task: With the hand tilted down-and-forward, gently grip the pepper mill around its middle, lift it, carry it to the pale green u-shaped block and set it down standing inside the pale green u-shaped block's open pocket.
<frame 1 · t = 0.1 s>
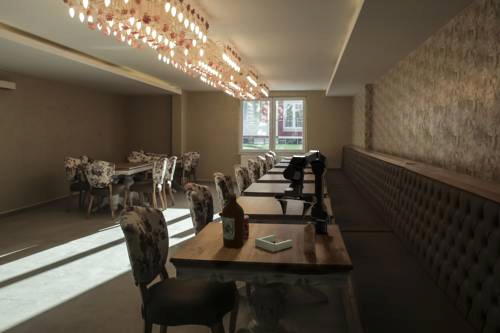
hand: (293, 217, 175), 15 cm above the table, tool pointing down, fingers open, 9 cm apart
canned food: (241, 237, 198), on the table
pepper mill: (308, 251, 175), on the table
olive oil: (233, 246, 184), on the table
pale green u-shaped block: (274, 245, 184), on the table
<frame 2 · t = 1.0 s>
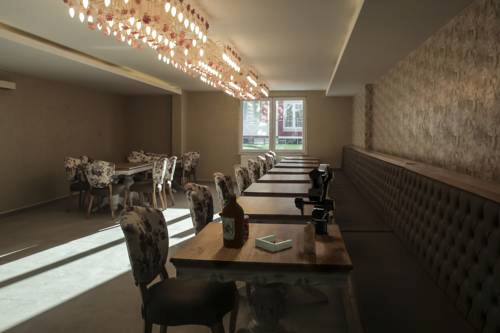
hand: (312, 218, 181), 13 cm above the table, tool tilted 45°, fingers open, 9 cm apart
nothing on the table moved.
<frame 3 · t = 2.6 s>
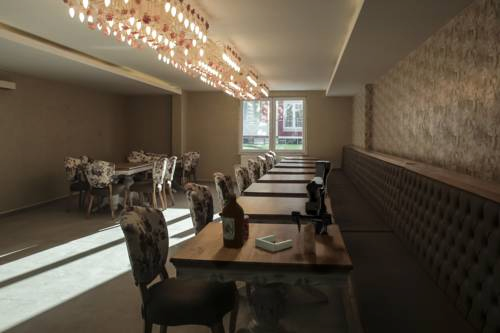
hand: (309, 233, 174), 8 cm above the table, tool tilted 45°, fingers open, 9 cm apart
nothing on the table moved.
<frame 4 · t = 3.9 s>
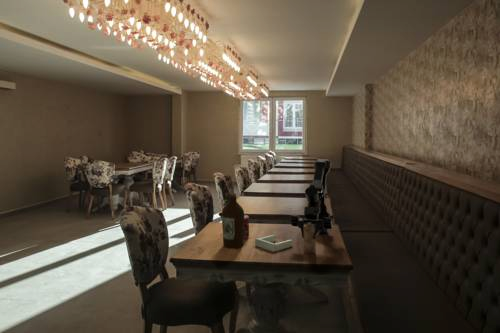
hand: (308, 238, 173), 7 cm above the table, tool tilted 45°, fingers closed on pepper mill, 5 cm apart
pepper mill: (308, 251, 175), on the table, touching gripper
everything else where it was.
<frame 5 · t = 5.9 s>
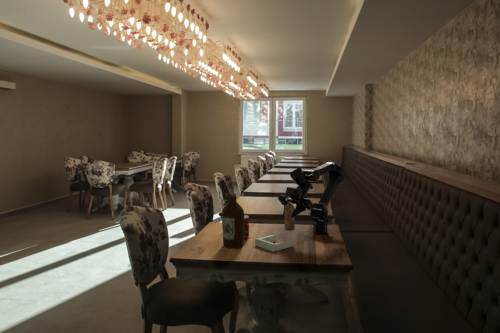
hand: (287, 216, 186), 13 cm above the table, tool tilted 45°, fingers closed on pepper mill, 5 cm apart
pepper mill: (289, 229, 187), point 7 cm above the table, touching gripper
everything else where it was.
when the fingers open (8 cm above the table, at t = 8.1 s): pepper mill drops 2 cm, resting in pale green u-shaped block.
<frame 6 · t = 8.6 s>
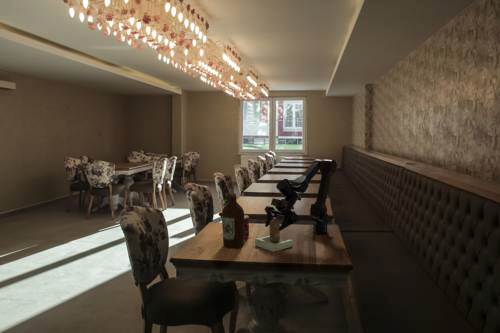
hand: (272, 228, 182), 9 cm above the table, tool tilted 45°, fingers open, 9 cm apart
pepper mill: (274, 245, 184), resting in pale green u-shaped block
everything else where it was.
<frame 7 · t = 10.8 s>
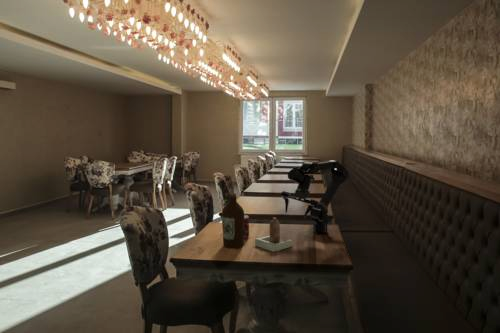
hand: (294, 215, 193), 12 cm above the table, tool tilted 25°, fingers open, 9 cm apart
nothing on the table moved.
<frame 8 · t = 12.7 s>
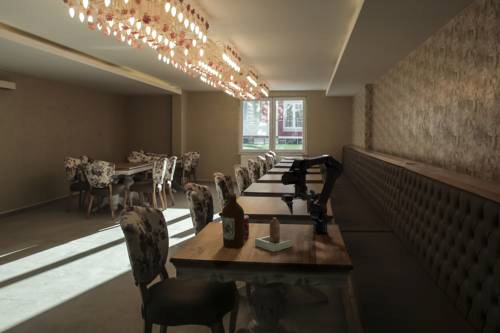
hand: (300, 214, 197), 12 cm above the table, tool pointing down, fingers open, 9 cm apart
nothing on the table moved.
at the end: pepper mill 0.1 cm from the pale green u-shaped block (horizontally); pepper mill tilted 0°; the gripper is holding nothing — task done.
